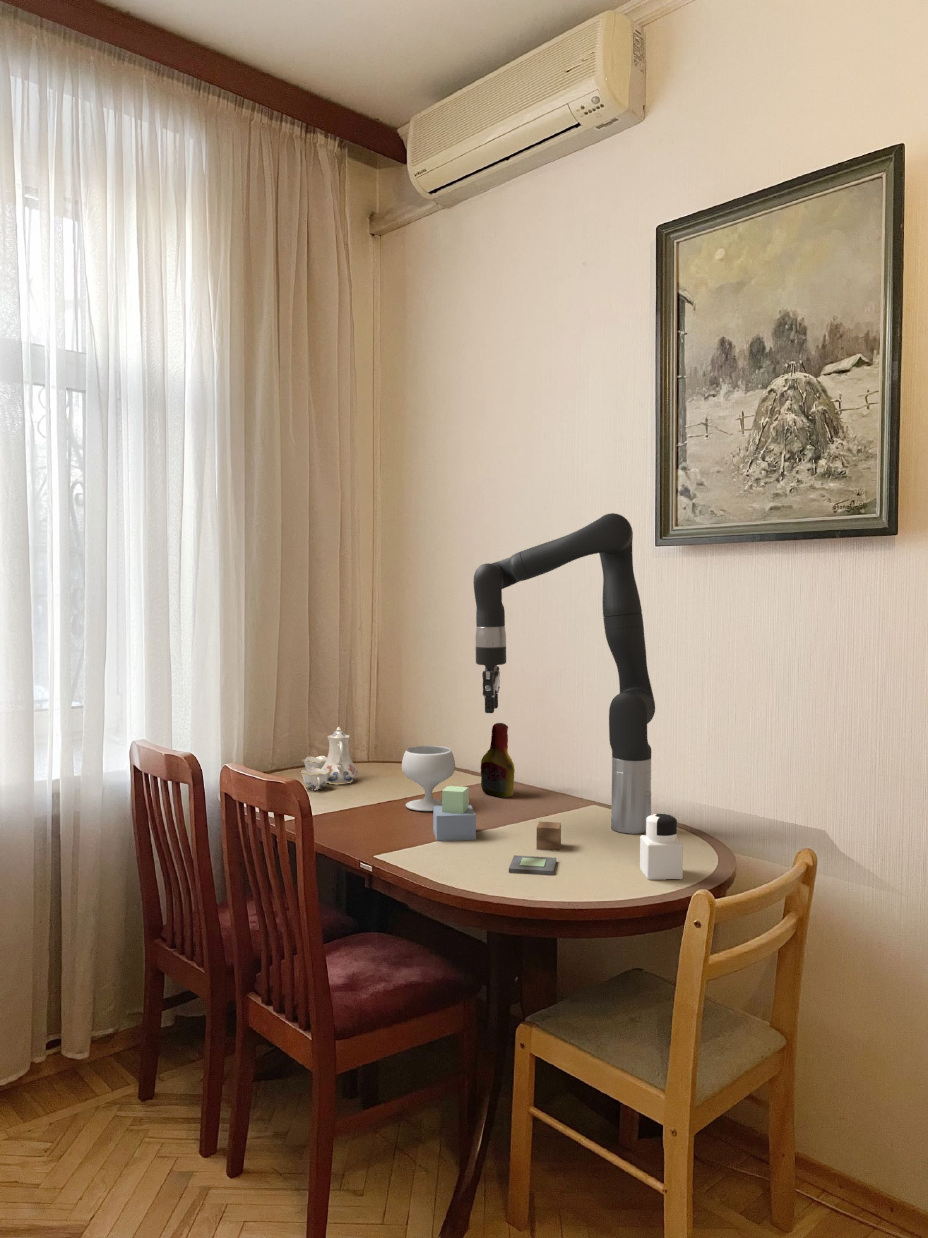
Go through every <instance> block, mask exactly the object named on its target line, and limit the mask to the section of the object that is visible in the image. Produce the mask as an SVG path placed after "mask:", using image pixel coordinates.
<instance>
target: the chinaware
mask: <svg viewBox="0 0 928 1238" xmlns="http://www.w3.org/2000/svg"><path fill="white" fill-rule="evenodd" d="M350 736H351V735H349V734H346V733H345V732H344V731H342V729H341V727H340V726H338V727H336V730H335V731H333V733H332V734H329V735H327V739H328V743H329V745H328V746H329V747H328V753H327V756H325V755H319V756H317V757H314V756H306V757H305V758H302V759H301V762H304V763H303V764H304V767H305V769H301V770H300V774H301V776H302V778H303V781H304V784H305V785H306V786H307V787H309V788H310V789H311V788H312V789H316V790H315V791H319V790H318V789H319V788H322V787H323V786H324V785H325V784H326V782H331V783H347V782H351V781H353V782H354V779H355V777H356V776H357V774H358V768H357V766H356V765H355V763H354V761H352V758H351V755H350V751H349V750H350V749H349V739H350Z"/></svg>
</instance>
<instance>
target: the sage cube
mask: <svg viewBox="0 0 928 1238" xmlns="http://www.w3.org/2000/svg"><path fill="white" fill-rule="evenodd" d="M469 791H470V790H469V786H468V787H467V786H453V785H447V786H446V787H445V788H444V789H442V790H441V800H442V812H448V813H462V814H463V813H464V812H465V811H466V810H467V809H468V808H469V805H470V804H469V797H470V794H469Z"/></svg>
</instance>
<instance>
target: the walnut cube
mask: <svg viewBox="0 0 928 1238" xmlns="http://www.w3.org/2000/svg"><path fill="white" fill-rule="evenodd" d="M561 845H562V822H557V821H554V822H553V821H538V823H537V825H536V850H537V851H538V850H542V851H555V852H556V851H557V852H559V851H560V849H561Z"/></svg>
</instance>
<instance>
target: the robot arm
mask: <svg viewBox="0 0 928 1238" xmlns="http://www.w3.org/2000/svg"><path fill="white" fill-rule="evenodd" d="M633 535H634V533H633V527H632V526H631V523H630V521H629V520H628V519H627V518H626V517H625V516H623V515H621V514H619V513H614V512H613V513H612V512H611V513H606V514H604V515H602V516H600V517H599V518H598V519H596V520H595V521H593V522H591V523H589V524H588V525H586V526H583V527H582V528H580V529H578V530H575V531H573V532H571V533H569V534H566V535H563V536H561V537H558V538H556V539H552V540H549V541H546V542H544V543H541V544H538V545H535V546H532V547H529V548H526V549H524V550H521V551H518V552H516V553H514V554H512V555H511V556H510V557H506V558H504V559H501V560H499V561H498V560H497V561H495V562H492V563H483V564H480V565H479V566H478V567H477V568H476V569H475V572H474V573H473V592H474V599H475V605H476V610H475V611H476V612H475V613H476V614H475V616H476V617H475V620H476V621H475V624H476V627H475V628H476V629H475V663H476V664H477V665H479V666H484V670H483V671H482V674H481V676H482V696H483V698H484V712H485V713H486V714H494V713H495V709H498V708H499V692H500V688H501V687H500V685H501V681H500V678H501V671H500V666H503V665H505V664H507V634H506V616H505V615H506V614H505V613H506V612H505V606H504V604H503V596H502V595H503V594H502V593H503V591H502V590H504V589H506V588H508V587H511V586H513V585H515V584H518V583H520V582H523V581H527V580H531V579H533V578H536V577H539V576H541V575H545V574H547V573H549V572H552V571H553V570H556V569H559V568H561V567H562V566H565V565H566V564H568V563H571V562H573V561H576V560H578V559H581V558H584V557H588V556H591V555H596V554H599V558H600V564H601V568H602V569H601V570H602V578H603V579H602V580H603V582H602V617H603V618H602V619H603V627H604V635H605V638H606V642H607V645H608V647H609V650H610V653H611V655H612V657H613V659H614V662H615V665H616V668H617V669H616V670H617V674H618V681H619V682H618V684H619V685H618V686H619V693H618V694H616V695H615V696H614V697H613V698H612V700H611V703H610V705H609V708H608V732H609V735H608V737H609V738H608V739H609V745H610V748H611V806H610V808H611V816H610V817H611V818H610V823H611V824H610V827H611V829H612V830H614V831H615V832H618V833H621V834H622V833H624V834H633V835H634V834H635V835H636V834H637V835H638V834H646V818H647V817H648V816H650V815H652V747H651V745H650V743H649V741H648V724H649V723H650V722H651V721H652V720H653V718H654V716H655V713H656V703H655V698H654V693H653V692H654V691H653V688H652V684H651V680H650V676H649V671H648V662H647V650H646V648H647V647H646V639H645V638H646V637H645V628H644V618H643V611H642V610H643V609H642V605H641V599H640V594H639V590H638V586H637V580H636V577H635V574H634V573H635V572H634V563H633V562H634V561H633V559H634V558H633V540H634V539H633Z"/></svg>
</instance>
